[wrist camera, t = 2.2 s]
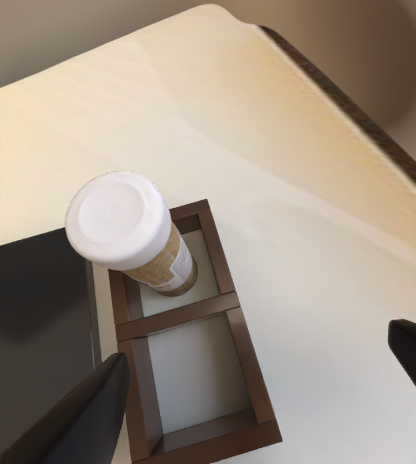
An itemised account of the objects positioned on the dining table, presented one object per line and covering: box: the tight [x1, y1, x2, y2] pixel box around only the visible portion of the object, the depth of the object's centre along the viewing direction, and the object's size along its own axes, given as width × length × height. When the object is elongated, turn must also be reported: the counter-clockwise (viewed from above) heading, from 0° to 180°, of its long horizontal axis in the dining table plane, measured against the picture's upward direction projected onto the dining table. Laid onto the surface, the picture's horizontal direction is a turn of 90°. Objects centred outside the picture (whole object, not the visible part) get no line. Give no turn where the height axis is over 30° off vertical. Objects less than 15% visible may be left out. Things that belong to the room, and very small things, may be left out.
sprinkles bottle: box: [65, 171, 197, 296], centre depth 17 cm, size 5×5×14 cm
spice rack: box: [108, 199, 283, 464], centre depth 20 cm, size 18×10×4 cm, turn 15°
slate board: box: [0, 227, 101, 453], centre depth 22 cm, size 20×12×1 cm, turn 15°
